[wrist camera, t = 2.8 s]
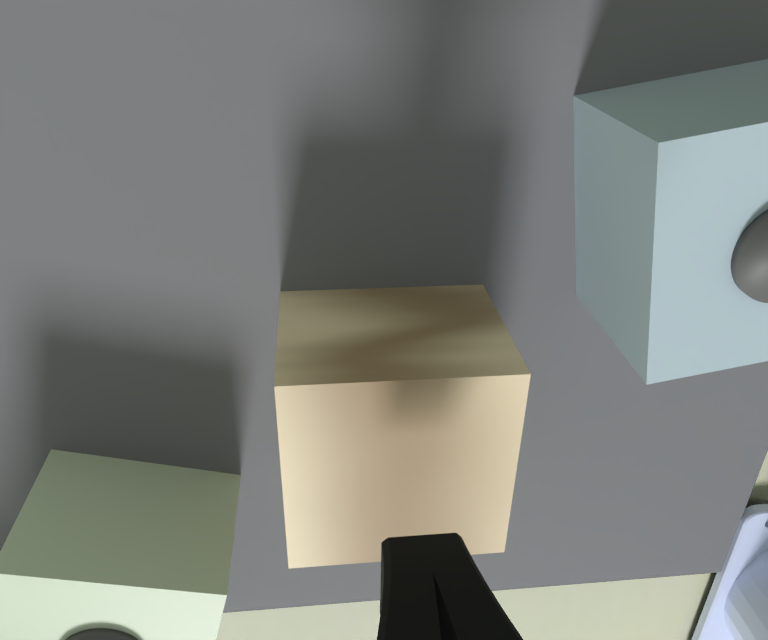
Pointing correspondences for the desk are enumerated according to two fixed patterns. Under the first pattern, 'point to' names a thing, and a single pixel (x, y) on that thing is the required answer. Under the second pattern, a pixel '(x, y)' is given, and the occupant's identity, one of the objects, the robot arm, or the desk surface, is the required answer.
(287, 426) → the beech block
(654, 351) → the slate dotted block
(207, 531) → the sage dotted block
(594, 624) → the desk surface
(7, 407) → the rubber mat
